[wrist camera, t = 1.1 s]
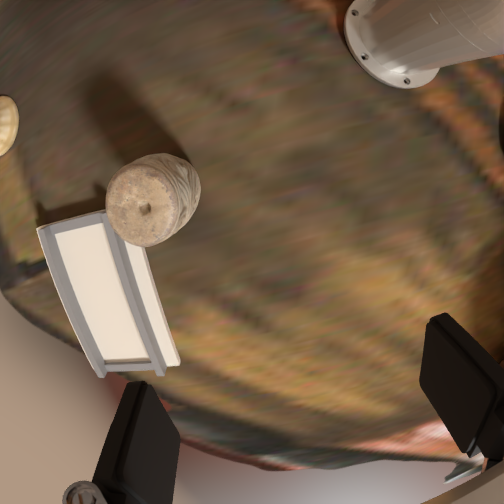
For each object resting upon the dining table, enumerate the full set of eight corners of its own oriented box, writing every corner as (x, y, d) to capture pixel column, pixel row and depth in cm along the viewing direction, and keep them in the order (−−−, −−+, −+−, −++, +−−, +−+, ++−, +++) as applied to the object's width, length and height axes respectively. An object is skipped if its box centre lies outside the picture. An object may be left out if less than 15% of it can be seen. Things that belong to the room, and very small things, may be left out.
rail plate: (40, 226, 34) (27, 233, 31) (133, 202, 33) (123, 208, 30) (95, 364, 41) (88, 377, 38) (180, 360, 41) (177, 375, 38)
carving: (188, 141, 31) (159, 144, 20) (212, 206, 34) (198, 243, 22) (135, 163, 32) (84, 179, 20) (160, 226, 34) (123, 269, 23)
